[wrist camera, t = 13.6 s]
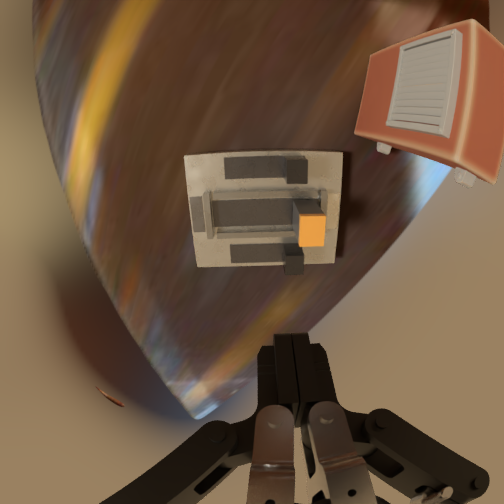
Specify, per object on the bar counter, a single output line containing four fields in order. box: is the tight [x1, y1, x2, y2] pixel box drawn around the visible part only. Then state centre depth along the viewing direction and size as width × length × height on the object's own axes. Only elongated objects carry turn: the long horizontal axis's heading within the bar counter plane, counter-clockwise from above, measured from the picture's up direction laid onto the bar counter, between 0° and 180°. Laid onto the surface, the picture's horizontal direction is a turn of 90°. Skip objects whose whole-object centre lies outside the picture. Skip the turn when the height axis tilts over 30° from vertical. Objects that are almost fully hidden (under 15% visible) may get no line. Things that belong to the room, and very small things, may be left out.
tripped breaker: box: [292, 199, 326, 247], centre depth 32 cm, size 4×3×6 cm
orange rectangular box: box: [354, 19, 504, 188], centre depth 20 cm, size 21×7×15 cm
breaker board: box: [184, 149, 343, 275], centre depth 35 cm, size 16×20×6 cm
